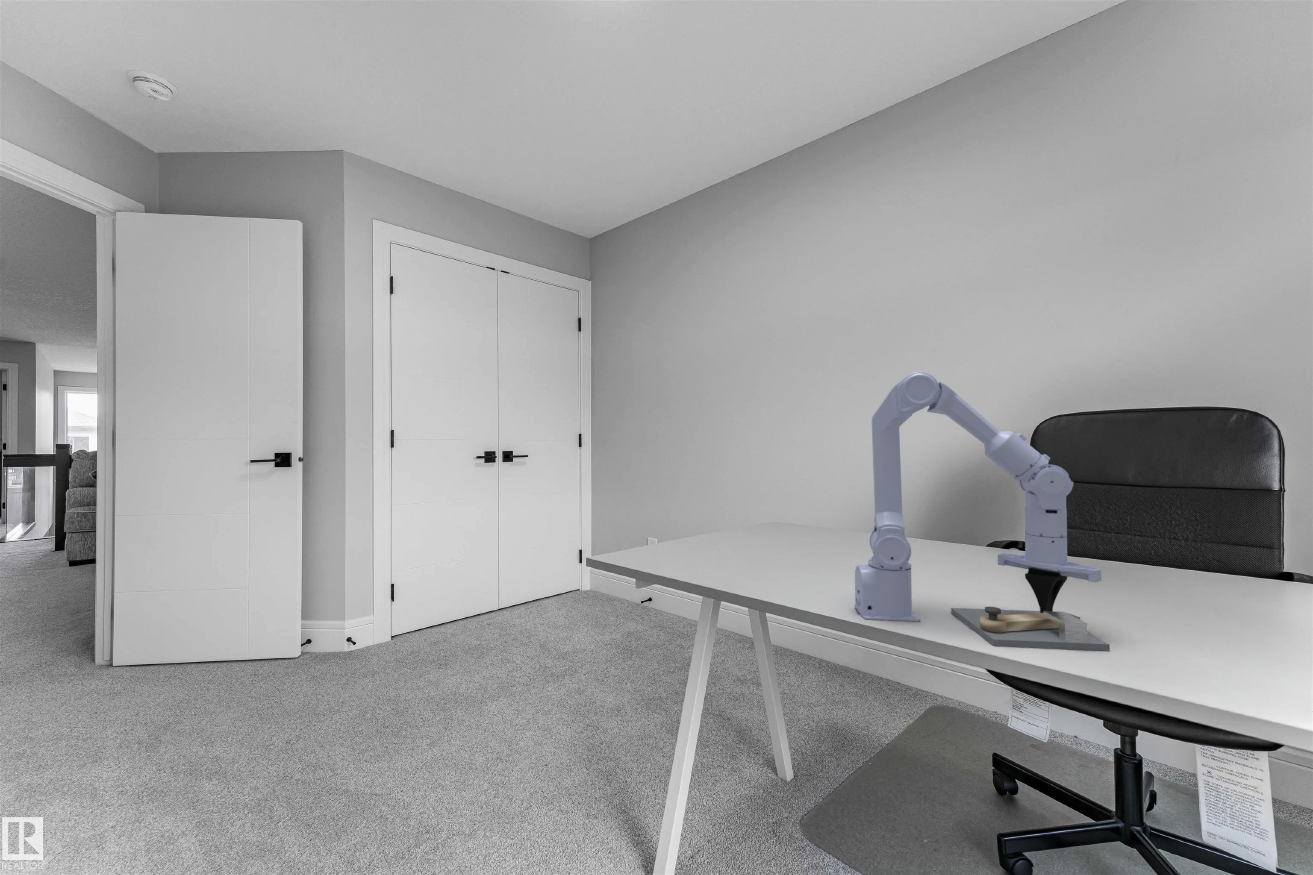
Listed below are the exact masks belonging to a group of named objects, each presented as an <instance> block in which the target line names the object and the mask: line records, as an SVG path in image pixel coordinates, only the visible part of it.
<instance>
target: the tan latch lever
mask: <svg viewBox="0 0 1313 875" xmlns="http://www.w3.org/2000/svg"><path fill="white" fill-rule="evenodd" d="M984 609H985V612H986V613H989V616H981V617H980V627H981V628H982V629H984V630H987V631H991V632H999V633H1001V632H1006V631H1021V630H1036V629H1052V628H1059V624H1057V623H1055V622H1054V621H1052V620H1050V619H1048V618H1046V617H1045V616H1044V613H1033V614H1016V615H999V616H997V615H998V614H1001V610H1002V609H1001V608H999V607H996V606H985V607H984ZM1067 613H1068V612H1067ZM1068 614H1070V615H1072V616H1074V617H1076V618H1078V619H1080V620H1081V617H1080V616H1077V615H1074V614H1071V613H1068Z"/></svg>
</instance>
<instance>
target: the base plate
mask: <svg viewBox="0 0 1313 875" xmlns="http://www.w3.org/2000/svg"><path fill="white" fill-rule="evenodd" d="M1033 613H1040V610H1026V609H1024V610H1023V609H1022V610H1020V609H1019V610H1017V609H1001V614H998V615H997V616H999V615H1016V614H1033ZM950 614H951V615H952V616H954V617H955V618H956V619H957V620H959V621H961V622H962V623H963V624H964V625H966V626H967V627H968V628H969V629H971V630H972V631H973V632H975V633H976V634H977V635H978V636H980V637H981V638H983V640H985V641H987V642H988V643H989V644H991V645H992V646H993V647H1009V648H1028V649H1029V648H1033V649H1036V648H1037V649H1054V650H1055V649H1058V650H1073V651H1074V650H1076V651H1077V650H1079V651H1095V652H1096V651H1100V652H1101V651H1102V652H1110V651H1111V650H1110V649H1111V648H1110V646H1111V644H1110V643H1108V642H1106V641H1104V640H1102V639H1100V638H1099V637H1097V636H1094V635H1093V634H1091V633H1089V632H1087V643H1067V642H1064V641H1062V640H1060V639H1059V628H1052V629H1036V630H1021V631H1006V632H1001V633H999V632H991V631H987V630H984V629H982V628H981V627H980V617H981V616H989V613H986V612H985V608H967V607H966V608H965V607H951V608H950Z"/></svg>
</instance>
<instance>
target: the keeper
mask: <svg viewBox="0 0 1313 875" xmlns="http://www.w3.org/2000/svg"><path fill="white" fill-rule="evenodd" d="M1070 614H1071V613H1069V614H1068V612H1066V611H1054V610H1053V611H1044V616H1045V617H1046V618H1048V619H1050V620H1052V621H1054V622H1055V623H1057V624H1059V639H1060V640H1062V641H1064V642H1067V643H1087V633H1088V623H1087V622H1085V621H1084V620H1082V619H1081V618H1080V619H1078V618H1076V617H1074V616H1072V615H1073V614H1072V615H1070Z"/></svg>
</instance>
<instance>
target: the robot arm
mask: <svg viewBox="0 0 1313 875" xmlns="http://www.w3.org/2000/svg"><path fill="white" fill-rule="evenodd" d="M927 407H928V409H927V410H926V411H927V412H928V413H931V414H932V413H933V414H938V415H944V416H946V417H948V418H949V419H950V420H952V421H954V423H956V424H958V426H960V427H961V428H963V429H964V430H965V431H967V433H969V434H970V435H971V436H973V437H974V438H976V439H977V440H978V441H980V442H981V443H982V444H983V446H984V454H985V456H986V457H987V458H988V459H990V460H991V461H992V462H993V463H994V464H996V466H998V467H999V468H1001V470H1003V471H1004V472H1006V473H1007V475H1009V476H1010V477H1011V478H1013V479H1014V480H1015V481H1018V485H1019V487H1020V489H1021V490H1022V491H1024V492H1025V493H1024V500H1025V501H1024V502H1025V505H1024V537H1025V538H1024V540H1025V542H1024V547H1025V548H1024V550H1025V552H1024V554H1025V555H1022V554H1013V553H1006V552H1002V553H997V565H998V566H1009V567H1014V568H1019V569H1025V570H1028V571H1027V573H1024V578H1025V579H1026V581H1027V583H1028V584H1029V586H1030V587H1031V589H1032V591H1033V593H1034V596H1035V598H1036V600H1037V603H1038V607H1039V611H1040V613H1044V611H1054V604H1055V602H1056V600H1057V597H1058V594H1059V593H1060V590H1061V589H1062V587H1063V586H1064V585H1065V583H1066V581H1067V580H1068V577H1070V578H1072V579H1073V578H1074V579H1079V580H1085V581H1088V582H1091V583H1099V582H1101V581H1102V569H1101V568H1098V567H1092V566H1087V565H1083V564H1080V563H1079V564H1078V563H1074V562H1071V561H1068V525H1067V524H1068V519H1067V518H1068V517H1067V516H1068V513H1067V512H1068V511H1067V510H1068V509H1067V496H1068V495H1069V494H1070V493H1071V492H1072V490H1073V487H1074V481H1072V480H1071V478H1070V475H1069V473H1068V471H1067V470H1065V469H1064V468H1062V467H1061V466H1059V465H1055V464H1049V461H1050V460H1051V457H1049V455H1047V454H1046V453H1045V454H1041V452H1039V451H1038V450H1036V449H1035V448H1034V447H1033V446H1032V445H1030V444H1028V442H1027V441H1026V440H1027V437H1026V436H1025V435H1024V434H1023V433H1017V434H1016V433H1015V432H1014V431H1011V430H1005V431H1004V430H1003V431H1001V430H999V429H998V428H996V426H994V425H993V424H992V423H991V422H990V421H989V420H987V419H986V418H985V417H984V416H983V415H982V414H981V413H979V412H978V411H977V410H976V409H975V408H973V407H972V406H971V405H970V404H969V403H968V402H967V401H965V400H964V398H963V397H961V396H960V395H959V394H958V393H957V392H955V391H954V390H953V389H952V388H951V387H950V386H948V385H947V384H945V383H944V382H941V381H938V380H937V379H936V378H935V376H933V375H932V374H930V373H928V372H925V371H915V372H912V373H910V374H907V375H906V376H905V377H904V378H903V379H901V380H900V381H899V382H897V383H896V384H895V385H894V386H893V387H892V388H891V389H890V390H889V392H888V393H887V394H886V396H885V397H884V399H883V400H882V402H881V403H880V405H879V406H878V408H877V409H876V411H875V412H874V413H873V415H872V416H871V417H872V418H871V436H872V437H871V439H872V467H873V468H872V469H873V470H872V471H873V472H872V473H873V496H874V500H873V501H874V520H873V522H874V523H873V524H874V527H873V531H872V532H871V534H870V537H869V546H870V548H871V550H872V551H871V552H872V557H871V558H869V559H868V564H864V565H858V564H857V566H855V572H854V597H855V598H854V601H855V603H854V608H855V610H857V612H858V613H859V615H860V616H861V617H862V618H863V619H864V620H870V621H871V620H874V621H896V622H897V621H898V622H899V621H901V622H920V621H921V618H920V617H919V616H918V615H917V614H915V612H914V611H913V603H912V602H913V601H912V600H913V598H912V590H913V589H912V587H913V585H912V564H911V563H910V562H909V561H910V559H911V556H912V547H911V544H910V542H909V540H908V539H907V537H906V533H905V521H904V517H903V516H904V515H903V500H902V498H903V496H902V492H903V491H902V474H901V473H902V471H901V468H902V467H901V466H902V465H901V443H900V441H901V440H900V428H901V426H902V425H903V424H904V423H905V422H906V421H908V419H910V418H911V417H913V414H915V413H917V412H919V411H922V410H923V409H925V408H927Z"/></svg>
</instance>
